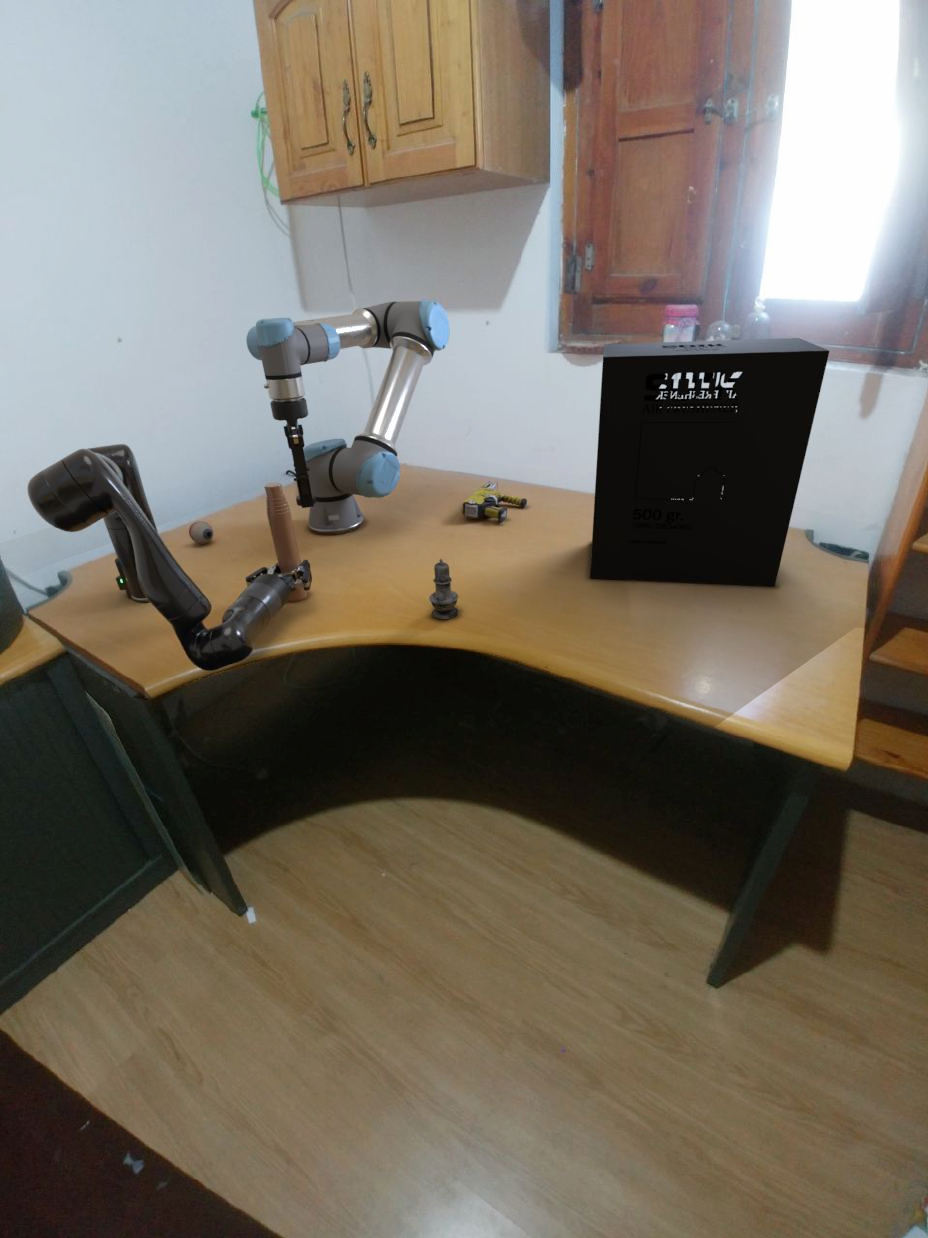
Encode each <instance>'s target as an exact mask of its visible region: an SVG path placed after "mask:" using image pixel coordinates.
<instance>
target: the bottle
mask: <svg viewBox="0 0 928 1238" xmlns="http://www.w3.org/2000/svg"><path fill="white" fill-rule="evenodd" d="M282 485H283V484H282V483H281V482H279V481H273V482H268V483H266V484H264V487H263V488H264V491H265V495H266V497H265V500H266V501H265V503H266V504H265V507H266V510H265V511H266V515H267V516H266V517H267V521H268V524H269V529H270V534H271V537H272V542H273V546H274V551H275V555H276V560H277V562H278V565H279V569H280V574H281V573H285V572H287V571H288V570H290V569H296V568H297V567H298V566H299V565H300V564H301V563H302V561H301V556H300V553H299V551H300V550H299V547H298V541H297V537H296V533H295V532H296V531H295V528H294V523H293V518H292V514H291V513H292V512H291V508H290V505H289V504H288V501H287V498H286V495H285V494H284V492H283V486H282ZM298 576H299V573H298ZM307 597H308V591H305V590H304V588H296V590H295V591H293V592H291V593H290V596H289V599H288V601H287V602H299V601H303V600H305V599H306V598H307Z"/></svg>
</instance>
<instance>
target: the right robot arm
mask: <svg viewBox="0 0 928 1238" xmlns="http://www.w3.org/2000/svg"><path fill="white" fill-rule="evenodd" d="M449 339H450V323H449V318H448V315H447V312H446V310H445V309H444V307H443V306H442V305H441V303H439V302H438V301H435V300H427V299H422V300H416V301H415V300H414V301H413V300H411V301H409V300H408V301H403V300H402V301H388V302H383V303H379V304H376V305H375V304H374V305H371V306H366V307H363V308H362V307H361V308H358V309H355V310H353V312H352V313H351V314H343V315H336V316H328V317H321V318H314V319H306V320H299V321H298V320H297V321H293V320H292V319H291V318H290V317H272V318H262V319H259V320H257V321H256V323H255V325H254V326H252V327H251V328H249V330H248V331H247V333H246V346H247V350H248V352H249V353H250V355H251V356H252V357H253V358H255V359H256V360H258V361H261V363H262V369H263V373H264V378H265V383H264V384H263V388H264V389H265V390H267V389H268V390H267V392H268V393H267V394H268V397H269V399H270V400H271V401H270V409H271V414H272V418H273V419H274V420H275V421H279V422H280V421H286V424H285V425H284V426H283V429H284V430H283V432H284V436H285V437H286V441H287V445H288V449H290V450H291V456H292V461H293V467H294V471H292V470H290V469H288V470H286V471H285V475H288V474H289V473H290V474H291V475H293V476H295V477H294V478H293V482H296V485H297V490H298V496H299V495H300V501H301V506H300V507H301V509H306V508H309V513H308V523H307V524H308V528H309V529H308V530H310V531H311V532H312V533H314V534H317V535H323V536H324V535H325V536H327V535H329V536H331V535H339V534H340V535H341V534H345V533H350V532H353V531H355V530H357V529H359V528H361V527H362V526H363V525H364V523H365V519H364V514H363V512H362V510H361V508H360V505H359V504H358V501H357V500H356V498H355V496H360V497H364V498H369V499H371V498H374V499H375V498H377V499H381V498H384V497H386V496H388V495H390V494H391V493H392V492H393V491H394V490H395V488H396V487H397V485H398V482H400V477H401V470H400V468H401V463H400V461H399V459H398V453H399V452H398V450H397V448H396V447H395V446H396V443H397V440H398V438H399V434H400V432H401V429H402V427H403V424H404V421H405V418H406V415H407V412H408V409H409V407H410V405H411V401H412V399H413V395H414V392H415V390H416V387H417V384H418V383H419V379H420V376H421V373H422V370H423V368H424V366H426V365H429V364H430V363H431V362H432V361H433V358H434V355H435V352H437V351H442V350H444V349H445V348H446V347H447V345H448V344H449ZM354 347H359V348H362V349H370V348H372V349H373V348H374V349H375V348H376V349H377V348H378V349H379V348H380V349H388V350H389V349H390V350H392V353H391V356H390V359H389V360H388V364H387V366H386V369H385V372H384V374H383V378H382V380H381V383H380V385H379V389H378V390H377V394H376V397H375V400H374V401H373V405H372V408H371V410H370V412H369V416H368V418H367V421H366V423H365V427H364V429H363V432H362V433H361V432H360V433H359V434H357V435H354V439H353V441H352V444H351V447H348V443H347V442H346V440H345V439H344V438H331V439H326V440H320V441H317V442H313V443H309V444H308V445H305V441H304V428H303V425H302V424H299V422H298V420H301V419H305V418H307V417H308V416H309V410H308V404H307V399H306V398H305V395H306V389H305V383H304V378H303V374H302V373H303V372H302V367H301V366H304V365H310V364H316V363H321V362H322V363H323V362H324V363H326V362H328V361H331V360H333V359H335V358H337V357H338V355H339V353H340V351H341V350H343V349H348V348H354ZM312 494H314V495H315V497H316V503H315V504H313V499H312Z"/></svg>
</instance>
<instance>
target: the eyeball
mask: <svg viewBox="0 0 928 1238" xmlns="http://www.w3.org/2000/svg"><path fill="white" fill-rule="evenodd" d="M188 534H189V535H188V536H189V537H190V539H191V540H192V541H193V542H194V543H197V544H199V545H200V544H202V545H203V544H207V543H209V542H210V541H211V540H212V539H213V538H214V529H213V527H212V525H211V524H210V523H208V522H206V521H204V520H199V521H197V520H196V521H195V522H193V523H192V524H191V525H190V527H189V529H188Z"/></svg>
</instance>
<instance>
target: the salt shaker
mask: <svg viewBox="0 0 928 1238" xmlns="http://www.w3.org/2000/svg"><path fill="white" fill-rule="evenodd" d="M438 561H439V562H437V563H435V564H434V568H433V570H434V578H433V580H432V581H433V583H434V587H435V591H434V592H432V593H431V594H430V595H429V597H428V600H429V601H430V603H431V605H432V607H433V608H434V609H433V610H432V611H431V615H432V616H433V618H436V619H439V620H448V619H452V618H454V617H456V616H457V615H458V614H459V610H458V608H457V607H456V605H457V603H458V600H459V594H458V592H456V591H453V590H452V587H451V586H452V585H451V582H452V577H450V566H449V563H447V562H444V560H443V559H442V558H440V559H439V560H438Z"/></svg>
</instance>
